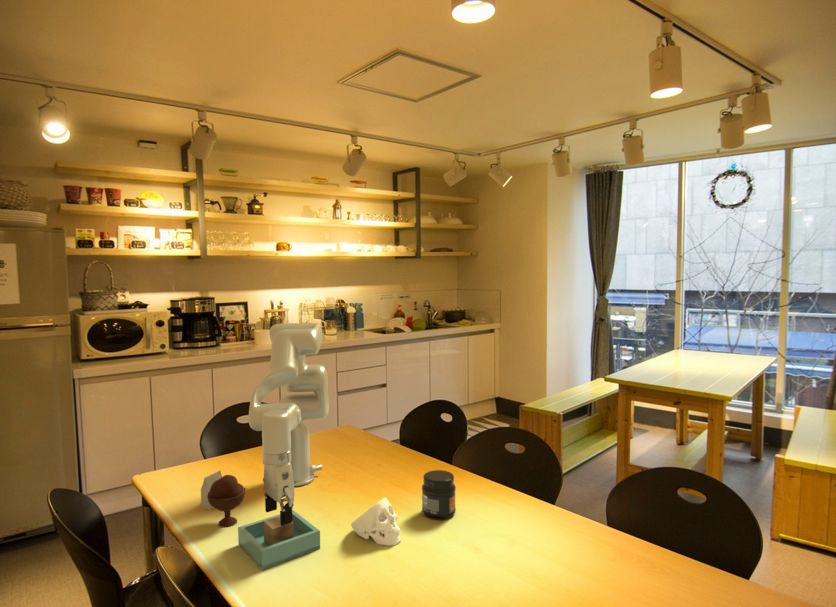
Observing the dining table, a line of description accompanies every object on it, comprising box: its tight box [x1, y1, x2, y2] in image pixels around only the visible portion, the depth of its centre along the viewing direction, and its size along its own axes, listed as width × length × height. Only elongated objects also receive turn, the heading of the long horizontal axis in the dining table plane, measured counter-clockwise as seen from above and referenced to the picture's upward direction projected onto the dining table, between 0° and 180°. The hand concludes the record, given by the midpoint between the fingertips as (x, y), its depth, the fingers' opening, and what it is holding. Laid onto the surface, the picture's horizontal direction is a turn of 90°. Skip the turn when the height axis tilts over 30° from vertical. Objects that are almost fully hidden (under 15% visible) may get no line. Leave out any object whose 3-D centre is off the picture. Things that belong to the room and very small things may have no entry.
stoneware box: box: [237, 509, 321, 571], centre depth 144 cm, size 16×16×5 cm
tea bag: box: [200, 470, 223, 510], centre depth 171 cm, size 4×7×10 cm, turn 158°
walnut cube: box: [264, 516, 294, 546], centre depth 144 cm, size 6×6×6 cm
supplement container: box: [421, 469, 457, 521], centre depth 164 cm, size 10×10×12 cm
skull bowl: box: [350, 497, 402, 547], centre depth 149 cm, size 10×14×12 cm
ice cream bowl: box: [207, 474, 247, 528], centre depth 158 cm, size 11×11×15 cm
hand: (278, 517), depth 144 cm, fingers open, 9 cm apart
